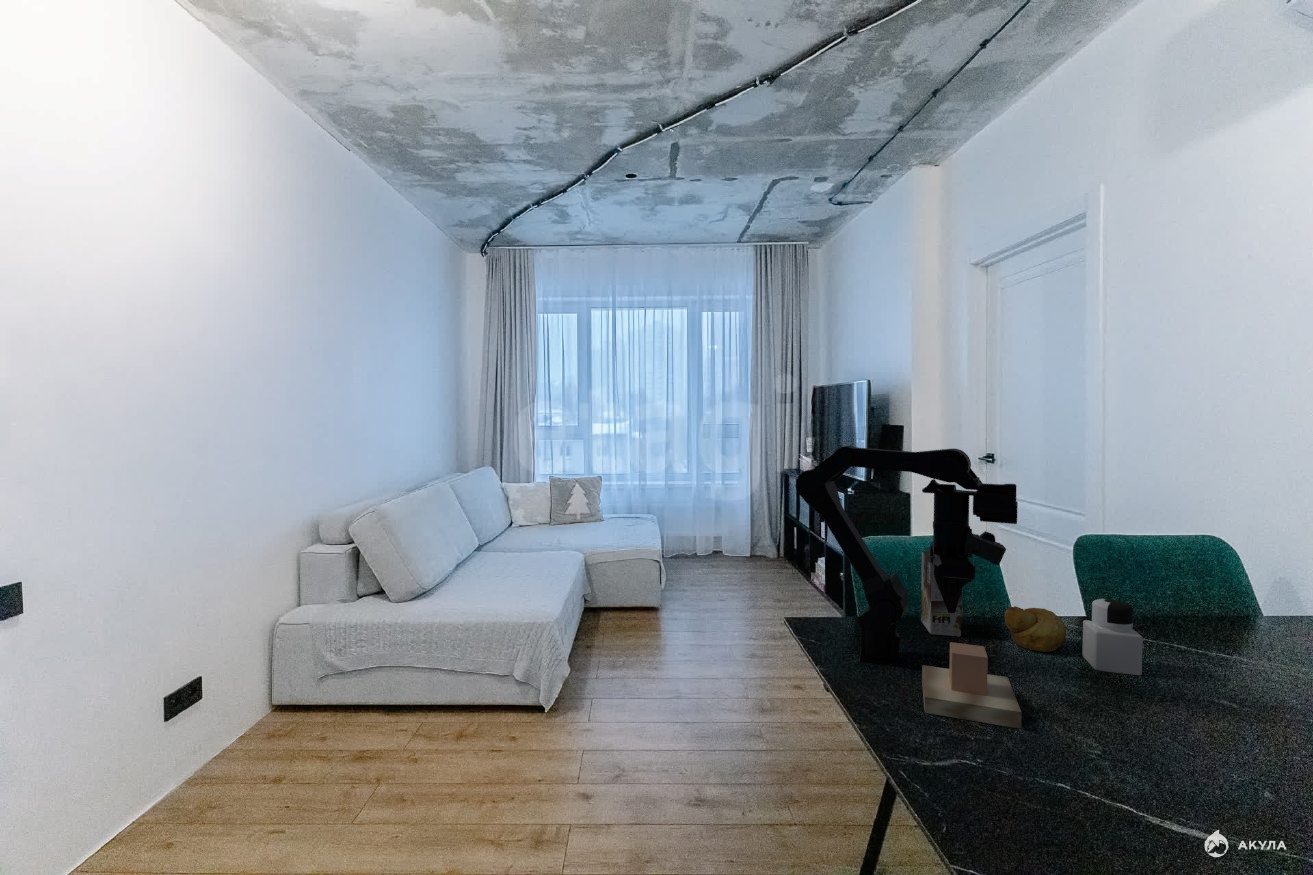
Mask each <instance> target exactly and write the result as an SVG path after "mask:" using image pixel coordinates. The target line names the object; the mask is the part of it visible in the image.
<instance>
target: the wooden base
mask: <svg viewBox="0 0 1313 875" xmlns="http://www.w3.org/2000/svg"><path fill="white" fill-rule="evenodd" d="M921 668H922V669H921V683H922V695H923V696H922V697H923V698H922V699H923V709H924V714H930V715H937V716H943V717H949V718H956V719H959V720H960V719H961V720H966V721H973V722H979V723H984V724H985V723H986V724H990V725H996V726H1003V727H1008V728H1014V729H1020V730H1022V710H1021V707H1020V706H1019V703H1018V700H1017V698H1016V695H1015V693H1014V691H1013V687H1012V686H1011V682H1010V680H1009V678H1008V676H1000V675H996V674H987V696H985V695H979V694H972V693H966V692H959V691H953V690H951V685H950V679H949V668H945V667H937V666H932V665H931V666H930V665H924V664H923V665H922V666H921Z"/></svg>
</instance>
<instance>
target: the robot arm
mask: <svg viewBox="0 0 1313 875" xmlns="http://www.w3.org/2000/svg"><path fill="white" fill-rule="evenodd" d="M850 468H865V469H875V470H884V471H885V470H886V471H896V472H897V471H898V472H907V473H913V474H917V475H920V476H923V477H926V478H930V479H931V480H930V481H929V483H928V485H926V486H925V487H924V488H922V490H921V491H922V493H924V494H933V521H932V529H933V530H932V531H933V533H932V534H933V535H932V536H933V538H932V539H933V541H931V542H930V543H929V550H928V551H929V553H930V556H931V557H930V559H931V562H932V565H933V574H934V578H935V580H936V582H937V585H938V588H939V590H940V593H941V595H942V598H943V600H944V603H945V606H946V608H947V611H948V613H955V612H956V608H957V605H958V601H959V598H960V594H961V591H962V592H963V587H964V586H965V585H966V586H967V584H969V583H971V582H973V581H974V580H975V579H976V566H975V564H974V562H973V561H972V560H971V559H972V558H973V555H974V556H975V557H978V558H980V559H983V560H985V561H988V562H990V563H991V564H993V565H995V566H1000V564H1001V562H1002V560H1003V557H1004V555H1005V553H1006V551H1007V548H1006V546H1004V545H1003V544H1002V543H1001V542H998V541H996V537H995V535H994V533H991V532H989V531H986V530H984V532H982V533H981V534H980V535H979V534H975V533H973V529H972V528H971V526H970V496H972V515H973V516H976V517H977V518H979V521H980V522H982V523H983V522H985V523H999V524H1010V525H1011V524H1012V525H1017V524H1018V507H1019V506H1018V504H1019V503H1018V502H1019V501H1017V484H1016V483H1003V484H1002V483H1001V484H998V483H983V481H982V480H981V479H980V477H978V476H977V474H976V472H975V471H974V470H973V469H972V464H971V459H970V457H969V455H968V454H967V453H966V452H965V451H963V449H958V448H941V449H933V450H932V449H931V450H922V451H921V450H920V451H908V450H897V449H896V450H895V449H893V450H892V449H882V448H881V449H879V448H869V447H868V448H867V447H857V446H856V447H855V446H852V445H844V446H840V447H838V448H837V449H836V450H835V452H833V453H832V454H831V455H830V456H828V457H827V458H826V459H824V460H823V461H822V462H820V463H819V464H817V465H816V466H815V467H813V469H807V470H805V471H803V472H801V473H800V474H799V475H798V476H797V478H796V481H795V484H794V486H795V489H796V492H797V493H798V495H799V496H800V497H801V499H802V500H803V501H804V502H805V503H806V504H807V505H808V506H809V507H810V508H812V510H813V511H814V512H816V513H817V514H818V515H819V516H820V517H821V518H822V520H823V521H824V522H825V524H826V525H827V527H828V529H829V531H830V533H831V534H832V535H833V537H834V538H835V540H836V542H837V544H838V545H839V547H840V549H841V550H842V551H843V553H844V555H845V557H846V558H847V559H848V561H849V563H850V565H851V566H852V567H853V569H854V570H853V571H855V573H856V574H857V576H858V577H859V579H860V582H861V585H862V589H863V593H864V597H865V600H866V603H867V607H866V608H865V610H863V612H862V613H861V614H860V615H859V616H858V617H857V621H858V623H859V624H858V625H859V627H860V648H859V649H860V650H859V656H858V659H859V661H863V662H864V661H865V662H871V663H879V664H883V665H884V664H887V665H891V666H894V665H895V666H896V665H897V660H899V659H900V633H899V632H897V624H895V623H897V622H898V621H900V620H901V618H902V617H903V616H904V615H905V612H907V610H908V607H909V602H910V600H909V596H908V592H909V589H908V588H907V587H905V585H904V584H903V583H902V581H901V579H900V577H899V575H898V573H897V572H894V573H893V574H891V575H890V574H888V573H887V572H886V571H885V570H884V569H882V567H881V566H880V565H879V564H880V563H878V561H877V560H876V558H875V555H873V553H872V552H871V550H870V549H869V547H868V545H867V543H866V542H865V540H864V539H863V538H862V536H861V535H860V533H859V531H858V529H857V528H856V526H855V524H854V523H853V521H852V519H851V518H850V517H849V515H848V514H847V512H846V510H845V509H844V507H843V506H842V502H841V499H840V493H839V490H838V488H837V486H836V483H835V482H836V481H837V480H838V479H839V478H840V477H842V476H843V475H844V474H845V472H847V471H848V470H849V469H850ZM938 481H942V482H945V483H946V484H945V483H938ZM948 483H949V484H948ZM950 483H951V484H950ZM952 483H955V484H952ZM956 484H957V485H958V486H960V487H962V488H963V490H962V489H957V486H956ZM964 489H965V490H964ZM934 554H935V557H934V556H933V555H934ZM970 558H971V559H970Z"/></svg>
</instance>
